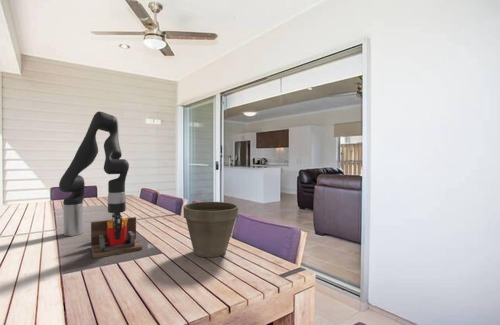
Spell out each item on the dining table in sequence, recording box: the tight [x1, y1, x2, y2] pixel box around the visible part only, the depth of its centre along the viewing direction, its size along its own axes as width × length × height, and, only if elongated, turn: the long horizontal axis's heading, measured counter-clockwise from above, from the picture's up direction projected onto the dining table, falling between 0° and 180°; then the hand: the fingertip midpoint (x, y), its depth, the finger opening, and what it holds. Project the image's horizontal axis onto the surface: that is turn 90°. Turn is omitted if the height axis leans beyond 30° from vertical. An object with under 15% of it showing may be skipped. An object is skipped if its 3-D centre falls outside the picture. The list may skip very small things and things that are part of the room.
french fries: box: [107, 217, 128, 247], centre depth 128 cm, size 9×4×13 cm, turn 141°
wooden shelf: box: [90, 216, 143, 259], centre depth 129 cm, size 17×20×12 cm
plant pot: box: [182, 201, 239, 258], centre depth 125 cm, size 25×25×22 cm
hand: (117, 237), depth 127 cm, fingers closed on french fries, 4 cm apart
